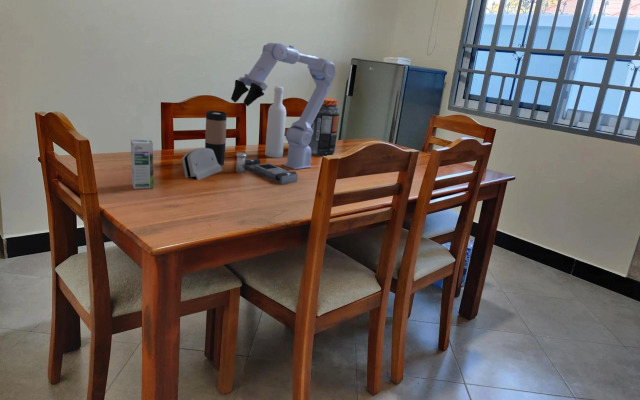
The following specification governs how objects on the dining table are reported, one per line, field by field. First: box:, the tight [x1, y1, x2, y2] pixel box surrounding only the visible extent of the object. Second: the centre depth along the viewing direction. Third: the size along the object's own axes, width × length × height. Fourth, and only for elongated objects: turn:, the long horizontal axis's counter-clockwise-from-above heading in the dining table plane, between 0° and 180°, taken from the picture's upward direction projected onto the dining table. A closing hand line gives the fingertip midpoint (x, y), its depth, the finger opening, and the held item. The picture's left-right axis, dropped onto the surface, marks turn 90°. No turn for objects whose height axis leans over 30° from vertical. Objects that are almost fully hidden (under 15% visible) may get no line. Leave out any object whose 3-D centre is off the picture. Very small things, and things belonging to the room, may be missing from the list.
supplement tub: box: [308, 96, 340, 157], centre depth 207 cm, size 16×16×26 cm
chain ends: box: [245, 158, 299, 185], centre depth 165 cm, size 8×26×3 cm, turn 45°
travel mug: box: [204, 110, 228, 167], centre depth 167 cm, size 8×8×20 cm
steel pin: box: [235, 151, 248, 174], centre depth 163 cm, size 4×4×7 cm
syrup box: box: [130, 138, 155, 190], centre depth 134 cm, size 6×6×14 cm
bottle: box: [264, 86, 287, 159], centre depth 190 cm, size 8×8×30 cm
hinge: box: [181, 147, 223, 181], centre depth 156 cm, size 17×5×10 cm, turn 162°
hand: (239, 102), depth 152 cm, fingers open, 7 cm apart
